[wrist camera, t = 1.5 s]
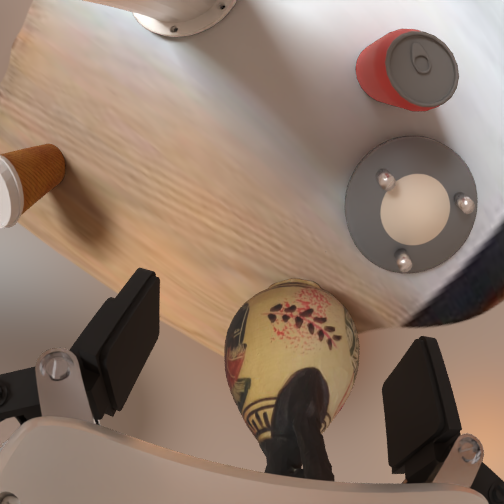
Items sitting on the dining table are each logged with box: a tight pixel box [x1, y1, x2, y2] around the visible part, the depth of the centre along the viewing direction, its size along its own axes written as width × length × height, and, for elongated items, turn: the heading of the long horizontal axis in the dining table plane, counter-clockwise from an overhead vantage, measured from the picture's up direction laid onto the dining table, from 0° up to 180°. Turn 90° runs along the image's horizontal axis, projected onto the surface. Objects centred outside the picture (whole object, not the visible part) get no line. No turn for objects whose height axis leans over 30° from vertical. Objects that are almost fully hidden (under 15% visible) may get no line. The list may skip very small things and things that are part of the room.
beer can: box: [356, 29, 459, 111], centre depth 22 cm, size 7×7×12 cm
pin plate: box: [345, 136, 477, 273], centre depth 33 cm, size 16×16×2 cm
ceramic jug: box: [225, 279, 359, 482], centre depth 30 cm, size 17×15×30 cm
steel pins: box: [376, 169, 475, 272], centre depth 32 cm, size 10×11×2 cm
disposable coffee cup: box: [0, 144, 65, 228], centre depth 33 cm, size 10×10×12 cm
